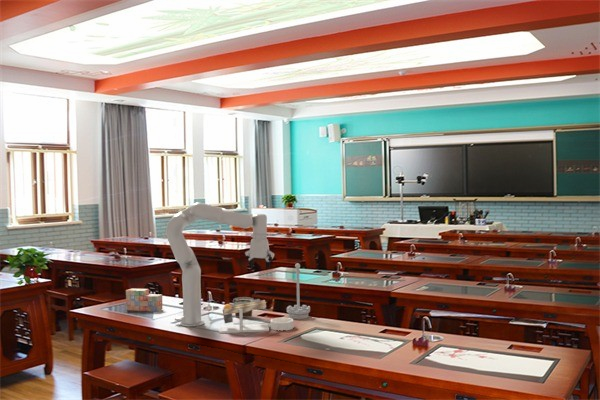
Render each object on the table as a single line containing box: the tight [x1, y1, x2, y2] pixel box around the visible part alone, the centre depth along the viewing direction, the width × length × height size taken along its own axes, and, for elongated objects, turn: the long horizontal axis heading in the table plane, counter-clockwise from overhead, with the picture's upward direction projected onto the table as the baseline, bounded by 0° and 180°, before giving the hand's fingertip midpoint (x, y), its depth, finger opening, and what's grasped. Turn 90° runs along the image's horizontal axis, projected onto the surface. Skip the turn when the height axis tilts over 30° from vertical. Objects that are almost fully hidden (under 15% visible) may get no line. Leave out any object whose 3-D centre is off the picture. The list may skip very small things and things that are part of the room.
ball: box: [223, 303, 232, 310], centre depth 300 cm, size 4×4×4 cm
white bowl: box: [269, 317, 295, 332], centre depth 303 cm, size 12×12×4 cm
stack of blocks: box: [125, 288, 163, 313], centre depth 353 cm, size 21×6×12 cm, turn 73°
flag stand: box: [286, 262, 311, 320], centre depth 328 cm, size 13×13×30 cm
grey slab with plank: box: [222, 298, 267, 324], centre depth 307 cm, size 22×18×7 cm
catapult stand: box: [218, 309, 270, 334], centre depth 301 cm, size 25×12×11 cm, turn 96°
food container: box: [232, 296, 254, 318], centre depth 333 cm, size 12×6×10 cm, turn 84°
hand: (259, 268), depth 318 cm, fingers open, 9 cm apart
